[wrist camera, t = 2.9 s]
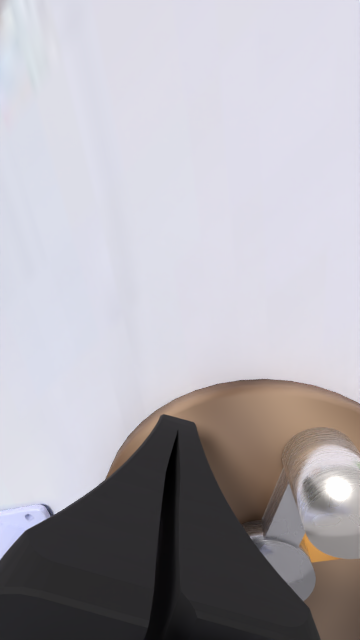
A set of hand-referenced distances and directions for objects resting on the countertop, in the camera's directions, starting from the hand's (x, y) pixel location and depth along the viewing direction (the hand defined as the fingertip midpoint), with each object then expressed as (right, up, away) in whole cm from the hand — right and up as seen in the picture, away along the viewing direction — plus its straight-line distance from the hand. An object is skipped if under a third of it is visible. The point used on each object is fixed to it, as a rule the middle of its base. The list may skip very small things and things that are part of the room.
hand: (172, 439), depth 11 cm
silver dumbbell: (+5, -5, +3) cm, 8 cm away
